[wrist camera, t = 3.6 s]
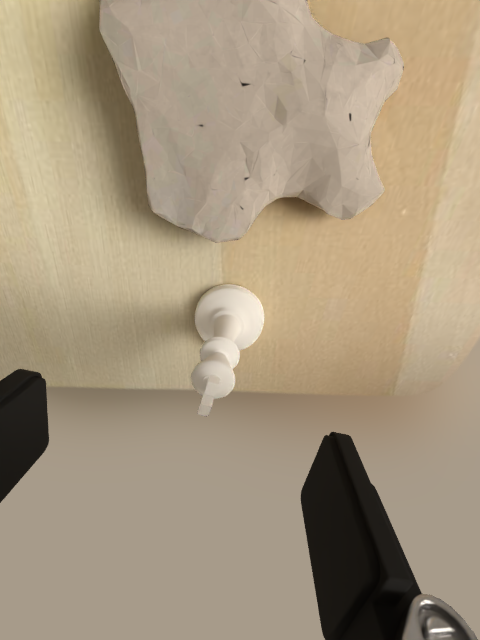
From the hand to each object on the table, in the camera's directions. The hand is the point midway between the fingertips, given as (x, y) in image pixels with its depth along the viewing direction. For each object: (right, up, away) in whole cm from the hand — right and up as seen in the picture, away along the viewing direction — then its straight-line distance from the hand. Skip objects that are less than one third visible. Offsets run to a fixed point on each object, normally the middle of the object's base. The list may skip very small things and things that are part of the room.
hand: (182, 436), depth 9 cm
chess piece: (+1, +4, +11) cm, 12 cm away
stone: (+3, +16, +6) cm, 17 cm away
